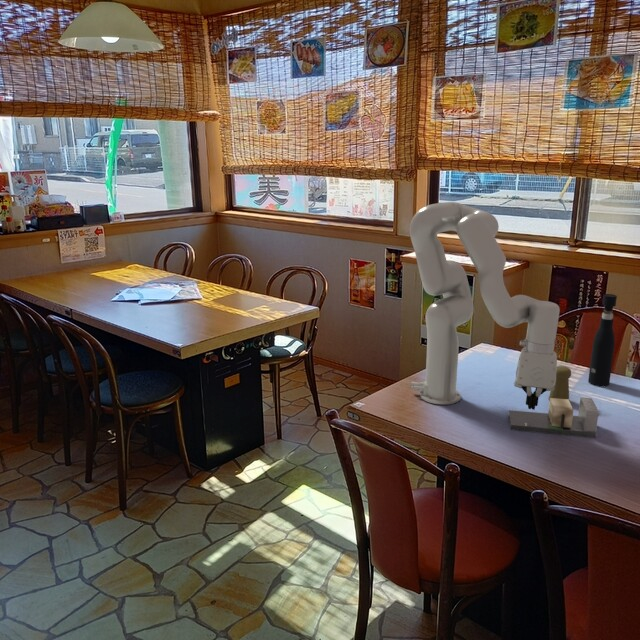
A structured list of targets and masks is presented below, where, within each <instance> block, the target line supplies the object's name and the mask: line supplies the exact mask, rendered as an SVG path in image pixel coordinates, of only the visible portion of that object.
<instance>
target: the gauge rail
mask: <svg viewBox="0 0 640 640" xmlns="http://www.w3.org/2000/svg"><path fill="white" fill-rule="evenodd" d="M578 406H579V408H578V415H573V419H572V427H571V428H567V427H564V428H561V427H556V426H552V424H551V421H550V418H549V415H548V413H545V412H533V411H525V410H524V411H523V410H522V411H521V410H510V409H509V410H508V415H507V417H508V421H509V429H510V431H519V432H530V433H539V434H540V433H541V434H549V435H550V434H553V435H561V436H564V435H565V436H572V435H573V436H575V437H583V438H596V437H597V426H598V419H599V409H598V408H597V406H596V404H595V402H594V400H593V398H592V397H580V399H579V405H578Z"/></svg>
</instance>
